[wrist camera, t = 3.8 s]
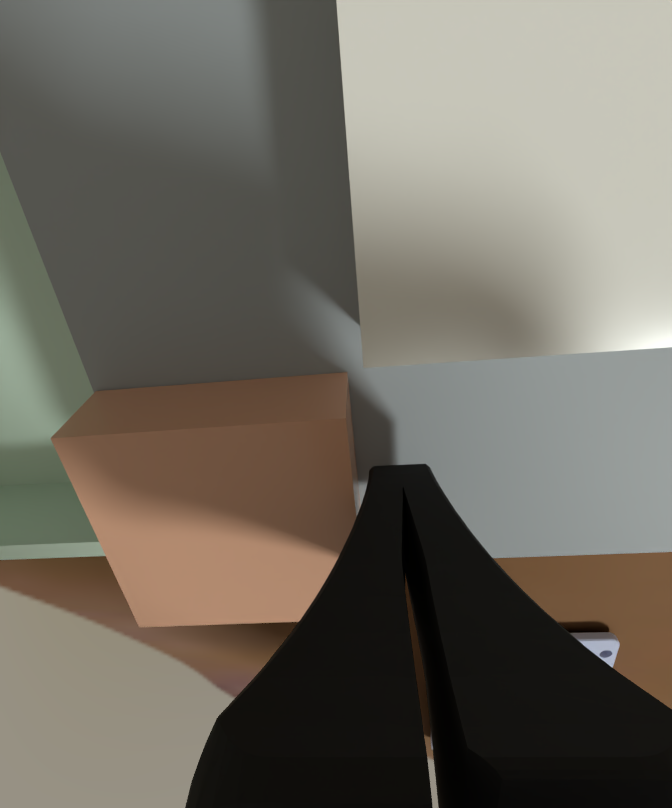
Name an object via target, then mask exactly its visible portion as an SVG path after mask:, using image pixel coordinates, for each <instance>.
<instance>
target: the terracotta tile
mask: <svg viewBox="0 0 672 808" xmlns="http://www.w3.org/2000/svg"><path fill="white" fill-rule="evenodd" d="M50 439H51V441H52V443H53V445H54V447H55V449H56V451H57V453H58V456H59V458H60V460H61V462H62V464H63V466H64V468H65V470H66V473H67V475H68V477H69V479H70V481H71V483H72V485H73V487H74V490H75V492H76V494H77V496H78V498H79V500H80V502H81V504H82V507H83V509H84V511H85V513H86V515H87V517H88V519H89V521H90V524H91V526H92V528H93V530H94V532H95V534H96V536H97V538H98V541H99V543H100V545H101V547H102V549H103V551H104V553H105V555H106V558H107V560H108V562H109V564H110V566H111V568H112V570H113V572H114V575H115V577H116V579H117V581H118V583H119V585H120V587H121V589H122V591H123V594H124V596H125V598H126V600H127V602H128V604H129V606H130V608H131V611H132V613H133V615H134V617H135V619H136V621H137V623H138V625H139V627H162V626H191V625H219V624H248V623H277V622H299V621H300V620H301V618H302V617H303V615H304V614H305V612H306V611H307V609H308V608H309V606H310V605H311V603H312V602H313V600H314V599H315V597H316V596H317V594H318V593H319V591H320V589H321V588H322V586H323V584H324V583H325V581H326V579H327V578H328V576H329V574H330V572H331V570H332V569H333V567H334V565H335V563H336V561H337V559H338V557H339V555H340V553H341V551H342V549H343V547H344V545H345V543H346V541H347V538H348V536H349V534H350V532H351V530H352V527H353V525H354V522H355V520H356V517H357V515H358V512H359V509H360V507H361V504H360V494H359V484H358V474H357V464H356V454H355V443H354V433H353V423H352V413H351V403H350V393H349V383H348V373H347V372H342V373H328V374H315V375H302V376H289V377H275V378H262V379H249V380H236V381H223V382H209V383H196V384H183V385H170V386H156V387H143V388H130V389H117V390H103V391H95V392H94V393H93V395H92V396H91V397H90V398H89V399H88V400H87V401H86V402H85V403H84V404H83V405H82V406H81V407H80V408H79V409H78V410H77V411H76V412H75V413H74V414H73V415H72V416H71V417H70V418H69V419H68V421H67V422H66V423H65V424H64V425H63V426H62V427H61V428H60V429H59V430H58V431H57V432H56V433H55V434H54V435H53V436H52V437H51V438H50Z"/></svg>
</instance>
